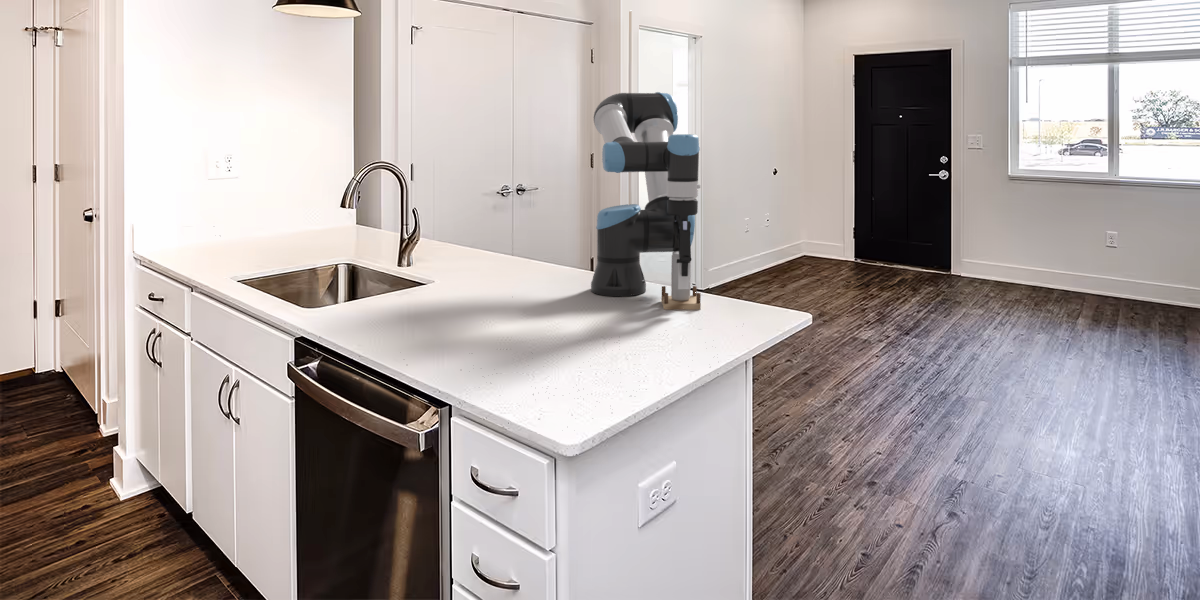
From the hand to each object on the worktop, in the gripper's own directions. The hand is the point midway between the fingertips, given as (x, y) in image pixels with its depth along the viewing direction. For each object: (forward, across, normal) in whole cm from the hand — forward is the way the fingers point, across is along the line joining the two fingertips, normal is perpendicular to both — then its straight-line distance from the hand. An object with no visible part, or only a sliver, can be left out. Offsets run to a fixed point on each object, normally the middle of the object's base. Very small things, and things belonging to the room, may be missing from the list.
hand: (680, 283), depth 192 cm
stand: (+6, 0, 0) cm, 6 cm away
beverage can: (+4, 0, 0) cm, 4 cm away
